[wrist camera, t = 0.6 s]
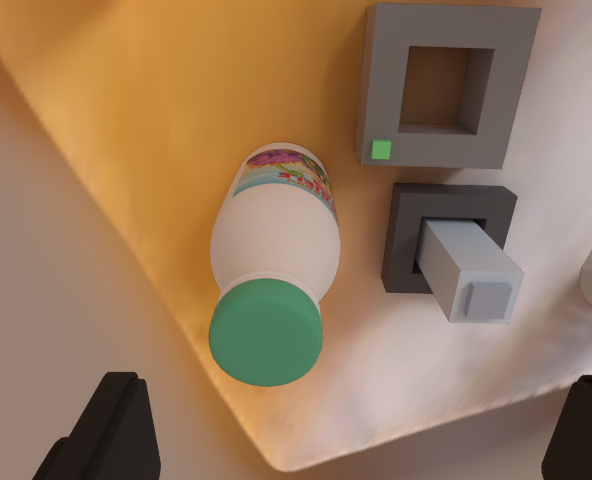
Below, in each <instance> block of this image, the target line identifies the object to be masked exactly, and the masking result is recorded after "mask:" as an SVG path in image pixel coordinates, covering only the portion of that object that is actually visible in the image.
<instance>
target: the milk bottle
mask: <svg viewBox="0 0 592 480" xmlns="http://www.w3.org/2000/svg"><path fill="white" fill-rule="evenodd" d="M339 260H340V235H339V226H338V221H337V215H336V210H335V205H334V201H333V196H332V191H331V187H330V182H329V179H328V176H327V173H326V170H325V168H324V166H323V165H322V163H321V162H320V160H319V159H318V158H317V157H316V156H315V155H314V154H313V153H311V152H310V151H309V150H307V149H305V148H303V147H301V146H299V145H296V144H292V143H285V142H278V143H271V144H267V145H264V146H262V147H260V148H258V149H256V150H255V151H253V152H252V153H251V154H250V155H249V156H248V157H247V158H246V159H245V160H244V161H243V163H242V164H241V166H240V168H239V170H238V171H237V173H236V175H235V178H234V180H233V182H232V184H231V186H230V188H229V190H228V192H227V195H226V197H225V199H224V202H223V204H222V206H221V208H220V211H219V213H218V216H217V219H216V221H215V224H214V227H213V231H212V236H211V242H210V261H211V267H212V271H213V275H214V278H215V280H216V283H217V285H218V287H219V289H220V291H221V292H222V293H221V294H220V296H219V298H218V301H217V305H216V309H215V311H214V314H213V317H212V320H211V324H210V328H209V346H210V350H211V354H212V356H213V358H214V360H215V361H216V363H217V364H218V365H219V367H220V368H221V369H222V370H223V371H224V372H226V373H227V374H228V375H230V376H231V377H233V378H235V379H236V380H239V381H241V382H244V383H246V384H250V385H255V386H264V387H270V386H279V385H284V384H287V383H290V382H293V381H295V380H297V379H299V378H300V377H302V376H303V375H305V374H306V373H307V372H308V371H309V370H310V369H311V368H312V367H313V366H314V364H315V363H316V361H317V359H318V356H319V354H320V351H321V347H322V325H321V312H320V306H319V303H318V302H319V301H320V300H321V299H322V298H323V297H324V295H325V294H326V293H327V291H328V290H329V288H330V286H331V284H332V282H333V280H334V278H335V275H336V272H337V269H338V265H339Z"/></svg>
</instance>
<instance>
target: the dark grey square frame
mask: <svg viewBox="0 0 592 480" xmlns="http://www.w3.org/2000/svg"><path fill="white" fill-rule="evenodd" d="M517 197H518V196H516V195H515V194H513V193H512V192H511V191H509V190H508V189H506V188H505V187H503V186H477V185H444V184H412V183H394V187H393V194H392V202H391V209H390V216H389V224H388V231H387V238H386V245H385V253H384V260H383V267H382V275H381V279H382V282H383V284H384V287H385V290H386V292H388V293H422V294H434V293H433V292H432V290H431V288H430V286H429V284H428V282H427V280H426V278H425V277H424V275H423V273H422V271H421V269H420V267H419V265H418V263H417V262H416V260H414V257H415V252H416V246H417V240H418V234H419V228H420V223H421V217H450V218H473V219H472V220H473V221H474V222H475V223H476V224H477V225H478V226H479V227H480V228H481V229H482V230H483V231H484V232H485V233H486V234H487V235H488V236H489V237H490V238H491V239H492V240H493V241H494V242H495V243H496V244H497V245H498V246H499V247H500V248H501V249H502V250H503V248H504V245H505V241H506V237H507V234H508V230H509V226H510V223H511V219H512V215H513V212H514V208H515V204H516V201H517Z"/></svg>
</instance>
